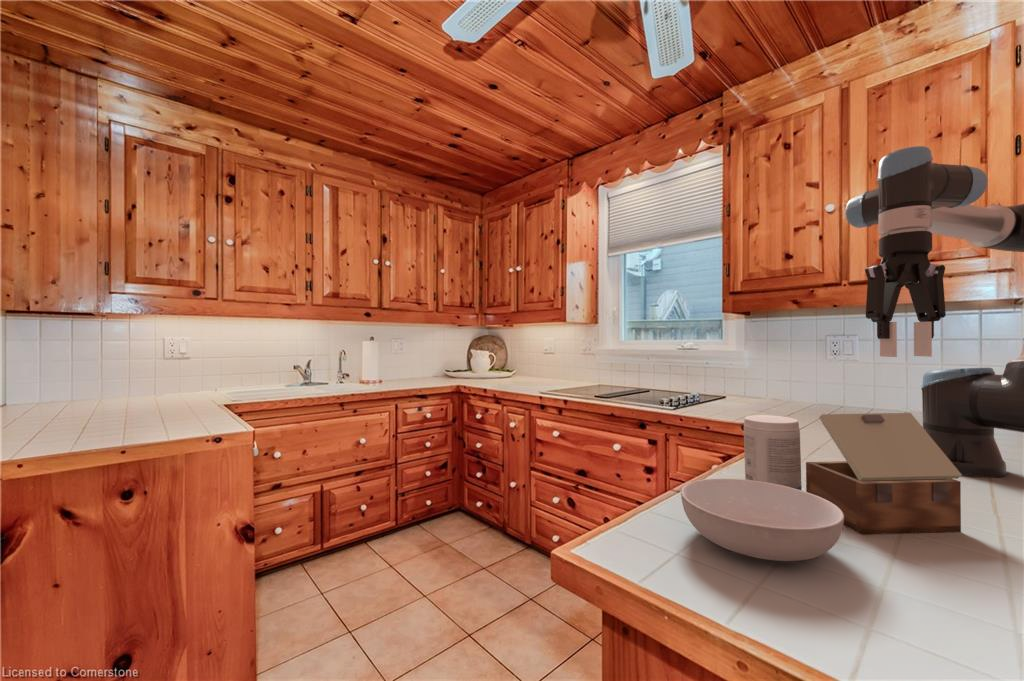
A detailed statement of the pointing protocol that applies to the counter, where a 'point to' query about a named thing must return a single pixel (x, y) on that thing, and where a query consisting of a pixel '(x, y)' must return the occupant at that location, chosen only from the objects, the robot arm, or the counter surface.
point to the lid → (888, 447)
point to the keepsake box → (887, 500)
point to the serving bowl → (762, 518)
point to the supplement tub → (772, 450)
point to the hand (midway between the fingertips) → (905, 356)
